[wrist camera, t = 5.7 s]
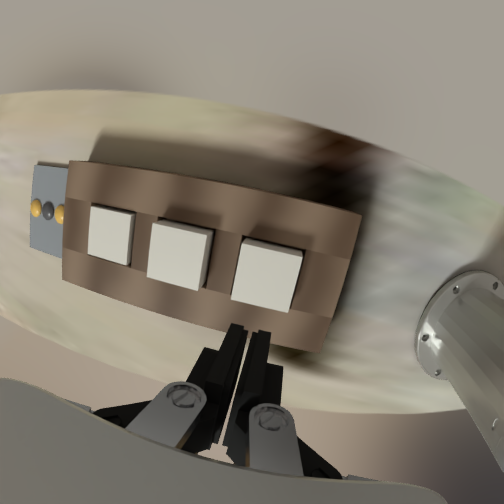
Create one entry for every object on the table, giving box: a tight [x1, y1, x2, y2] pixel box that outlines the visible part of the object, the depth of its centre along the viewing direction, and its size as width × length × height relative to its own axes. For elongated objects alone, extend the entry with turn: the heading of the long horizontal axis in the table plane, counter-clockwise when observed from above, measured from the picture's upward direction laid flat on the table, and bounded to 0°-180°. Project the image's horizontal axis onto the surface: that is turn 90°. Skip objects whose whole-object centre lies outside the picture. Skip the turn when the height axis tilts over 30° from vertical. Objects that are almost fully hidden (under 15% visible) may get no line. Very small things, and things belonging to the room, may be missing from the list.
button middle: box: [147, 220, 214, 291], centre depth 23 cm, size 4×4×2 cm
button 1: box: [231, 238, 303, 313], centre depth 23 cm, size 4×4×2 cm
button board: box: [62, 161, 362, 353], centre depth 25 cm, size 26×12×3 cm, turn 79°
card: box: [30, 165, 68, 258], centre depth 27 cm, size 7×10×1 cm
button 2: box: [88, 205, 137, 265], centre depth 25 cm, size 4×4×2 cm
